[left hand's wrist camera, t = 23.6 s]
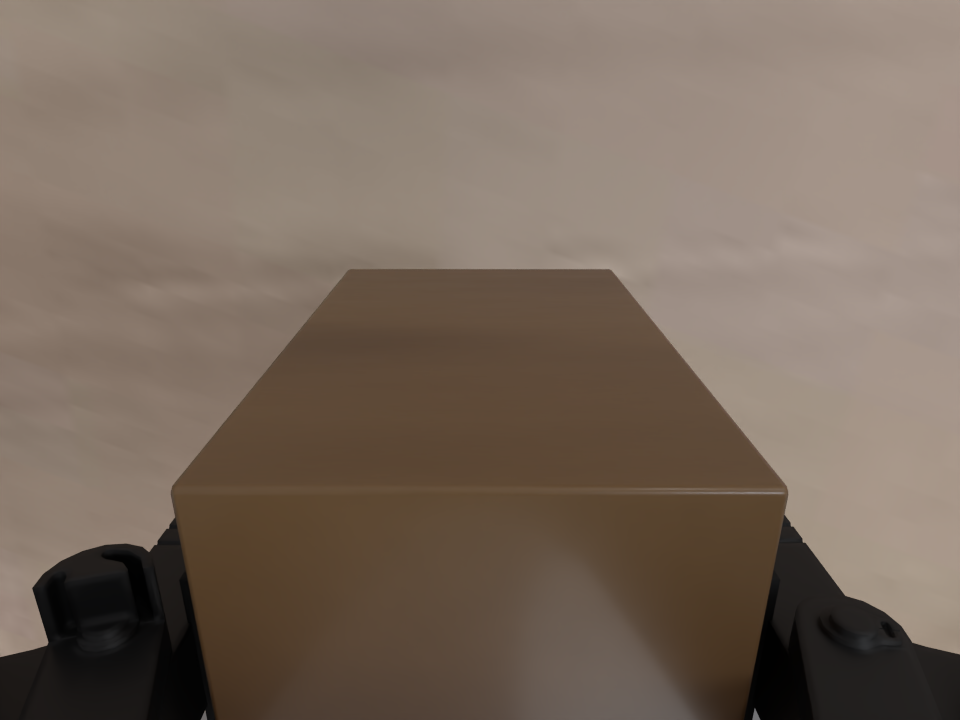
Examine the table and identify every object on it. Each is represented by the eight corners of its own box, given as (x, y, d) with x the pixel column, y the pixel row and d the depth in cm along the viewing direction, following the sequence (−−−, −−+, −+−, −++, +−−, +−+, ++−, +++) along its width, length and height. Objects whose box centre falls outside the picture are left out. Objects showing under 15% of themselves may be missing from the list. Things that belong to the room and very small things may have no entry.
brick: (592, 530, 17) (702, 942, 9) (367, 530, 17) (255, 942, 9) (612, 268, 15) (793, 488, 6) (347, 268, 15) (165, 488, 6)
